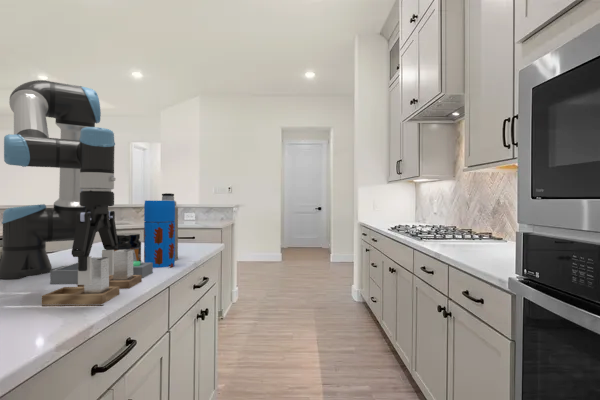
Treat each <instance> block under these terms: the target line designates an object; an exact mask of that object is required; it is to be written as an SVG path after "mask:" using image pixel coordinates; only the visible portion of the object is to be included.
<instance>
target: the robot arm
mask: <svg viewBox="0 0 600 400" xmlns="http://www.w3.org/2000/svg"><path fill="white" fill-rule="evenodd" d="M98 95H99V94H98V92H97V91H96V90H94V89H93V88H91V87H90V88H89V87H85V86H81V85H76V84H75V85H74V84H68V83H62V82H56V81H50V80H45V79H44V80H43V79H42V80H41V79H40V80H39V79H38V80H30V81H27V82H25V83H22V84H20V85H18V86H16V88H14V89H13V90H12V92H11V94H10V96H9V101H8V103H9V107H10V109H11V111H12V112H13V134H10V133H9V134H5V135H4V138H3V161H4V162H5V165H6V164H7V165H8V166H16V167H18V166H19V167H21V168H22V167H23V168H26V167H31V168H33V167H34V168H35V167H36V168H56V169H57V168H58V169H59V188H58V190H59V191H58V193H59V194H58V199H57V200H55V201H54V202H53V207H51V208H49V207H47V205H46V204H45V203H43V204H42V203H41V204H33V205H32V204H31V205H23V206H15V207H8V208H6V209H4V210H3V212H2V221H1V224H2V242H1V245H2V252H1V256H0V279H1V280H3V279H4V280H12V279H14V280H15V279H17V280H18V279H25V278H28V277H34V276H40V275H45V274H48V273H50V271H51V270H53V269H52V268H53V267H52V263H51V261H50V258H49V255H48V253H47V250H46V246H47V243H48V242H49V243H50V242H67V241H68V242H71V241H73V242H72V248H71V256H72V257H73V258H77V263H78V285H90V284H91V274H92V258H93V257H92V255H91V256H90V253H91V251H92V247H93V245H94V240H95V237H96V234H97V232H98V234H99V238H100V240H101V244H102V246H103V249H102V250H101V257H109V275H114V250H113V249H118V239H117V234H118V233H117V227H116V219H115V218H116V217H115V216H116V215H115V214H116V213H115V212H116V211H113V210H109V207H114V205H115V192H114V191H112V190H114V189H115V181H116V177H115V145H116V142H115V133H114V131H113V130H111V129H110V128H109V129H108V128H105V127H96V124H100V123H101V117H102V116H101V114H102V113H101V112H102V111H101V103H100V98H99V96H98ZM47 118H50V119H51V118H52V119H55V125H56V126H57V127H58V128H59V129H60V138H56V137H49V136H50V135H49V129H48V121H47Z"/></svg>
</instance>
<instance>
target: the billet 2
mask: <svg viewBox="0 0 600 400" xmlns="http://www.w3.org/2000/svg"><path fill="white" fill-rule="evenodd" d="M132 278H133V250H132V249H128V250H117V251H114V275H113V280H130V279H132Z"/></svg>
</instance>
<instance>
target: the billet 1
mask: <svg viewBox="0 0 600 400" xmlns="http://www.w3.org/2000/svg"><path fill="white" fill-rule="evenodd" d="M107 291H109V257H102V256H101V257H94V256H93V257H92V274H91V284H90V285H84V294H103V293H105V292H107Z"/></svg>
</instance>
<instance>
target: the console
mask: <svg viewBox="0 0 600 400" xmlns="http://www.w3.org/2000/svg"><path fill="white" fill-rule="evenodd" d="M153 273H154V271H153V263H144V262H141V263H140V266H133V275H142V279H144V278H145V277H148V276H149V275H151V274H153Z"/></svg>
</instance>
